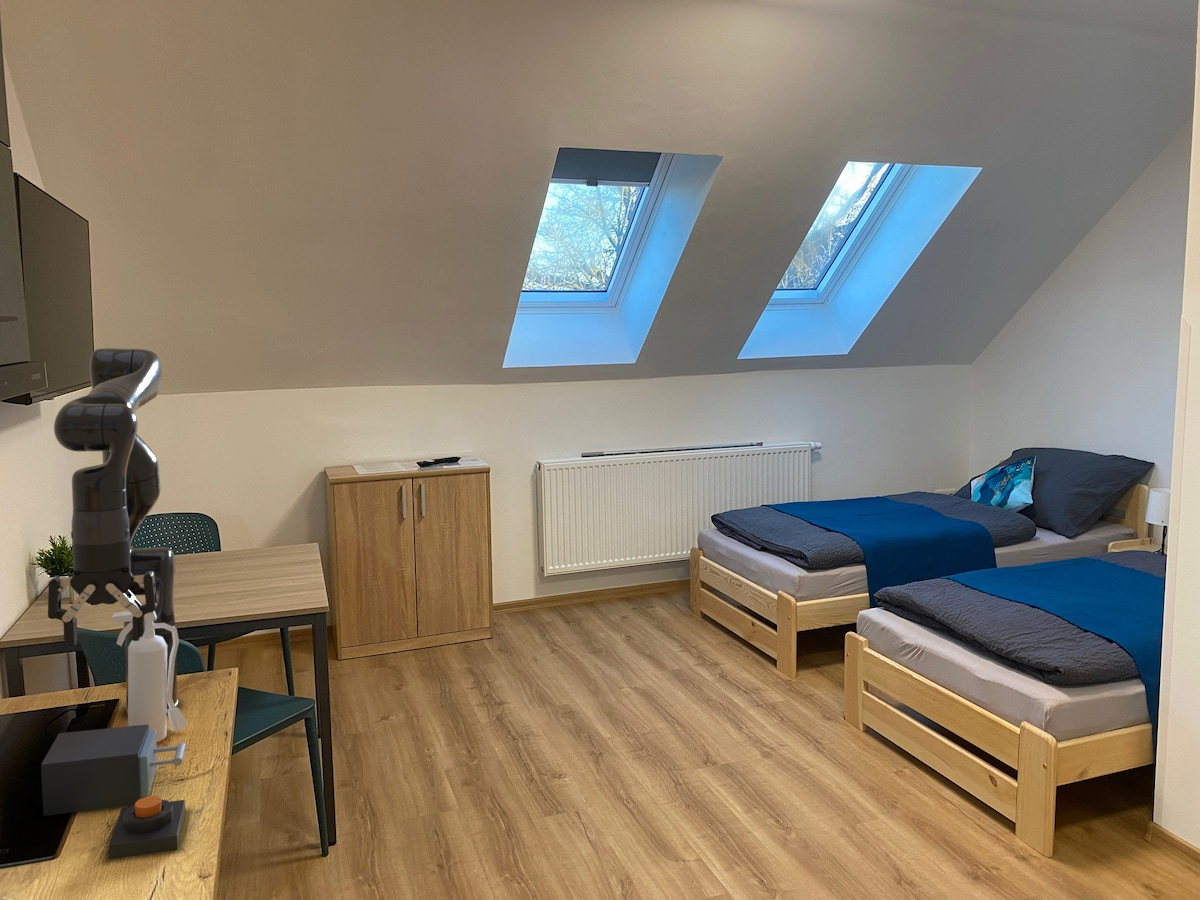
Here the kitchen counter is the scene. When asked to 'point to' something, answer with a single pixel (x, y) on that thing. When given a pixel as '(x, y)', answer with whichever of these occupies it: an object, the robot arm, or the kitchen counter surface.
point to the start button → (148, 806)
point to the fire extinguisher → (150, 677)
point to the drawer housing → (93, 770)
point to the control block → (147, 831)
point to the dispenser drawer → (155, 761)
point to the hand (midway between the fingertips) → (105, 641)
